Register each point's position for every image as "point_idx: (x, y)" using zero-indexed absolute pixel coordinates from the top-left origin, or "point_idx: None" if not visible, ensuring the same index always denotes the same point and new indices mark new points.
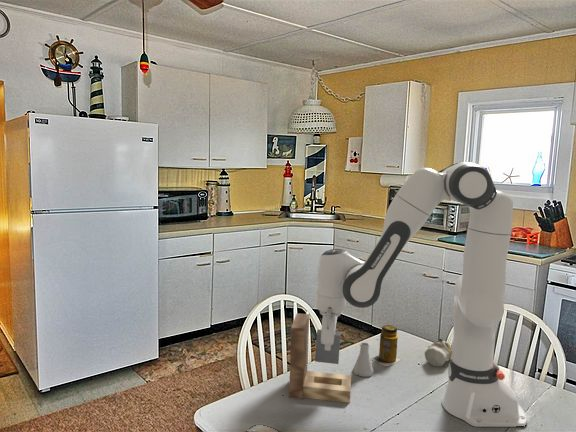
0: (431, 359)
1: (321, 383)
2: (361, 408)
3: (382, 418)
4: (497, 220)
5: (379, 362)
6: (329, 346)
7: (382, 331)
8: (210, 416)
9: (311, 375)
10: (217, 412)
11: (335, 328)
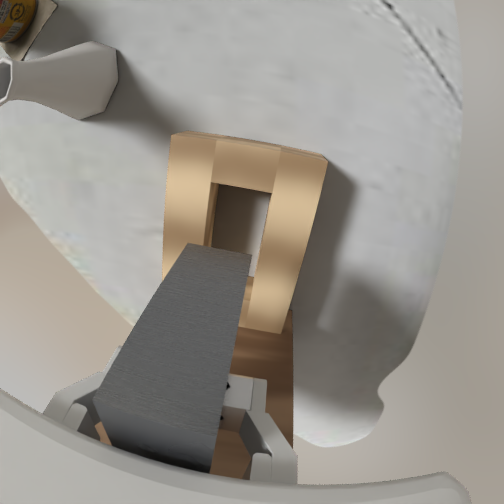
0: None
1: (256, 273)
2: (360, 118)
3: (420, 67)
4: None
5: (33, 34)
6: (264, 408)
7: None
8: (338, 439)
9: None
10: (327, 435)
11: (108, 467)
